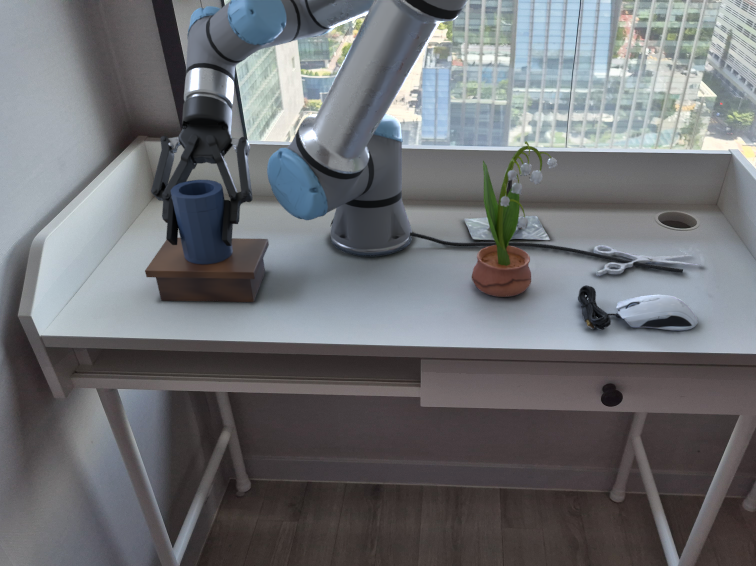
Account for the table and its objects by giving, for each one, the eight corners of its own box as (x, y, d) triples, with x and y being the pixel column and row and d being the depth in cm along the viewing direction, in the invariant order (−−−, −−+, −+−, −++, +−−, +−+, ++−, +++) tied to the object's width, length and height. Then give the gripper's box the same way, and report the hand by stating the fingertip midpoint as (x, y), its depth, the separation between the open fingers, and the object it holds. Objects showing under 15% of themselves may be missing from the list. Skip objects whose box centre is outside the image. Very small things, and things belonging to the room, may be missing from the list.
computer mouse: (704, 337, 105) (711, 315, 103) (584, 334, 106) (588, 311, 103) (686, 303, 113) (692, 282, 111) (575, 301, 114) (578, 279, 111)
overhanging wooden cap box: (272, 270, 121) (268, 238, 117) (258, 305, 111) (253, 272, 108) (175, 268, 121) (167, 237, 117) (153, 303, 111) (144, 270, 108)
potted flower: (546, 280, 119) (567, 133, 104) (534, 308, 112) (554, 154, 97) (479, 268, 122) (490, 124, 107) (463, 295, 115) (472, 144, 100)
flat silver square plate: (537, 218, 140) (545, 152, 132) (550, 240, 132) (559, 171, 124) (464, 220, 139) (467, 154, 131) (472, 242, 131) (476, 173, 123)
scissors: (584, 245, 129) (692, 244, 129) (584, 249, 129) (691, 248, 129) (597, 272, 120) (712, 272, 120) (596, 276, 120) (711, 276, 121)
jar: (237, 243, 116) (227, 179, 109) (226, 265, 110) (215, 198, 103) (191, 243, 116) (178, 179, 109) (178, 264, 110) (164, 197, 103)
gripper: (277, 119, 115) (270, 251, 111) (152, 117, 115) (142, 249, 111) (267, 94, 107) (260, 235, 104) (134, 92, 107) (122, 233, 104)
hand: (199, 242), depth 108 cm, fingers open, 8 cm apart
